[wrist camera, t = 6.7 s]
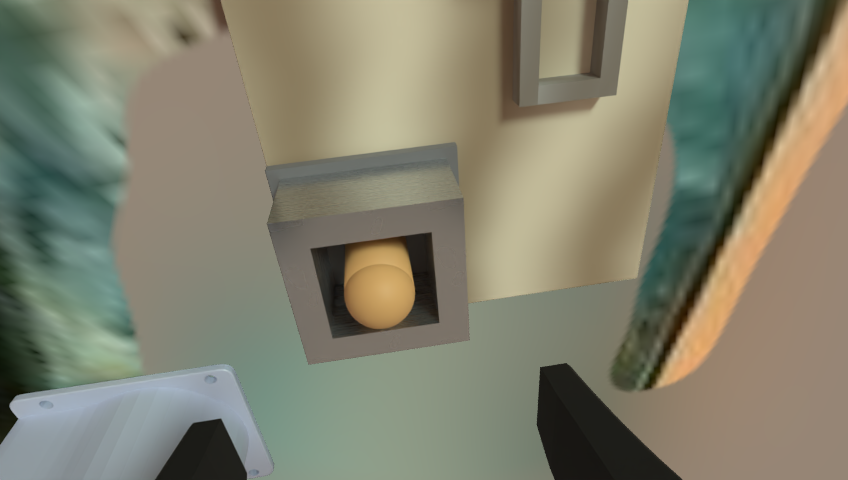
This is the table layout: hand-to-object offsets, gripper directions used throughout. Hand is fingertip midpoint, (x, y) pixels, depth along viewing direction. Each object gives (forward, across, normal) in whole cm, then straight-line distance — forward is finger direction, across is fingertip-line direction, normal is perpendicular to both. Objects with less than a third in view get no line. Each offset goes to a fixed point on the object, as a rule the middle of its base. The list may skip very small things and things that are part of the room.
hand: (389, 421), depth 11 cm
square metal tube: (+8, 0, 0) cm, 8 cm away
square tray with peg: (+9, 0, 0) cm, 9 cm away
